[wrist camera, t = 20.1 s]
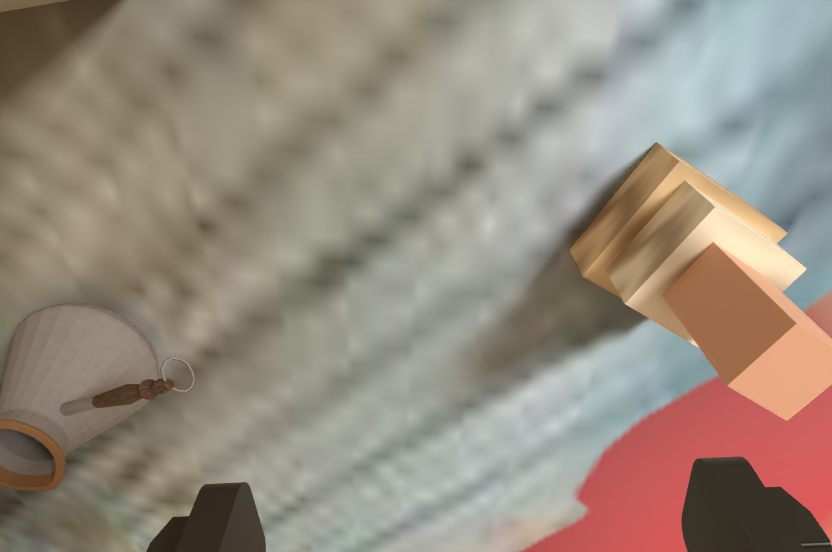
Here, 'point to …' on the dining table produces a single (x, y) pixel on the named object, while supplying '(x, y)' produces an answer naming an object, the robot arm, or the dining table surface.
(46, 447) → the coffee pot
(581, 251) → the oak base slab
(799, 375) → the terracotta block
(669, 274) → the birch top slab
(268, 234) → the dining table surface
